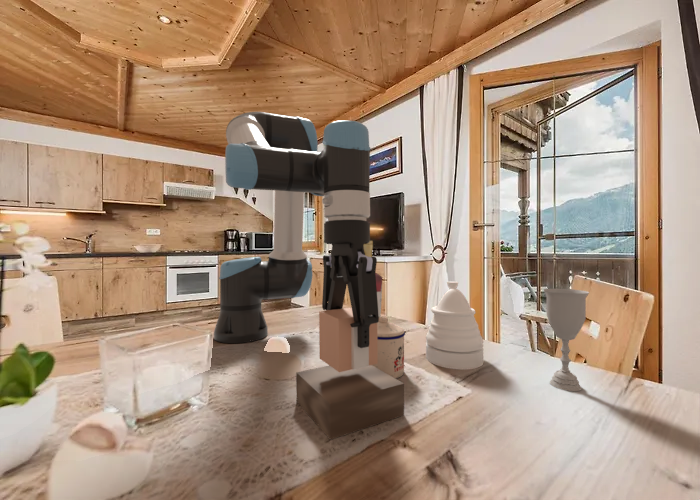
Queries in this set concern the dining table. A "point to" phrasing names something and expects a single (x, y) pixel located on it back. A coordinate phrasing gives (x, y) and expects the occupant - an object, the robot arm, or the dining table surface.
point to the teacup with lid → (390, 348)
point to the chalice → (566, 329)
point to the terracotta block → (341, 339)
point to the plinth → (349, 398)
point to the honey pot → (454, 333)
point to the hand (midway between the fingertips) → (347, 359)
